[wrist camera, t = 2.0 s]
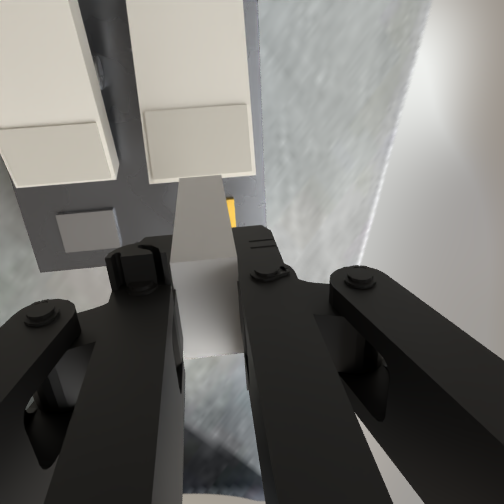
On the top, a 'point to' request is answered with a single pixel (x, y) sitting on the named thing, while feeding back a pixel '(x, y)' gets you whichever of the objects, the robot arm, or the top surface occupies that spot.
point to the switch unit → (129, 162)
